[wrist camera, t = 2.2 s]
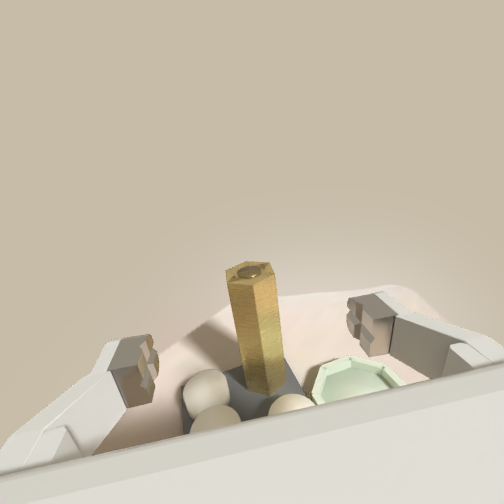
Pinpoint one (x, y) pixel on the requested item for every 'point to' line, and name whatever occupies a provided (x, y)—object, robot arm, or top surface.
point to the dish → (352, 379)
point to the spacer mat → (234, 399)
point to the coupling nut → (257, 325)
